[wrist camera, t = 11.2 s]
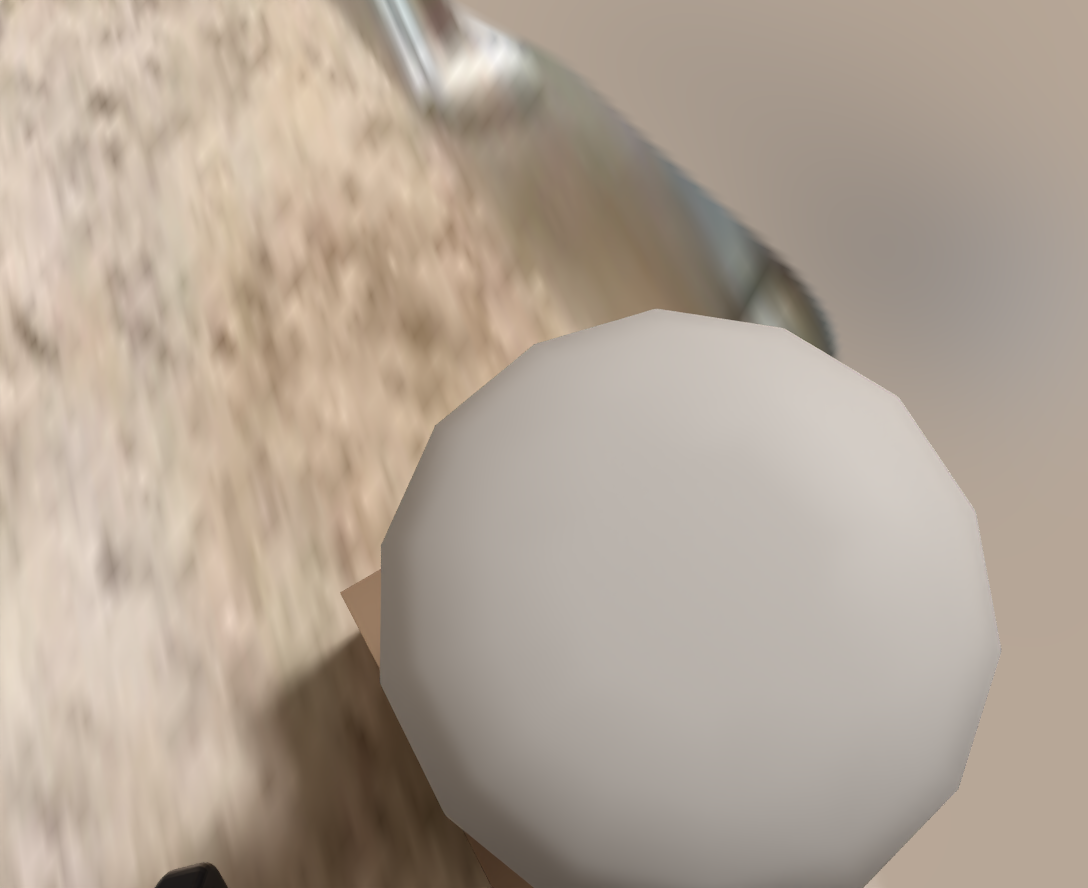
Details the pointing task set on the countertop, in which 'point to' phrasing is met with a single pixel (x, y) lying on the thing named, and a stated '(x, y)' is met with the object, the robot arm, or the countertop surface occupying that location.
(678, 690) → the salt shaker
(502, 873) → the walnut plinth
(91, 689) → the countertop surface
